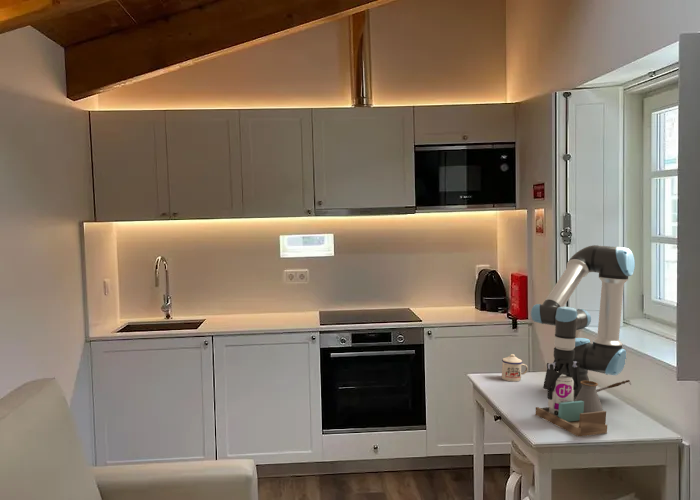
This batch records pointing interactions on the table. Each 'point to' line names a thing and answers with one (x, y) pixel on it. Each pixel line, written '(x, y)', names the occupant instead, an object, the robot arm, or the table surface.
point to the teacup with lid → (512, 368)
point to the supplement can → (562, 392)
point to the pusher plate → (570, 410)
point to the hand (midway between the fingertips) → (560, 406)
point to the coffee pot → (593, 395)
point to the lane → (577, 422)
